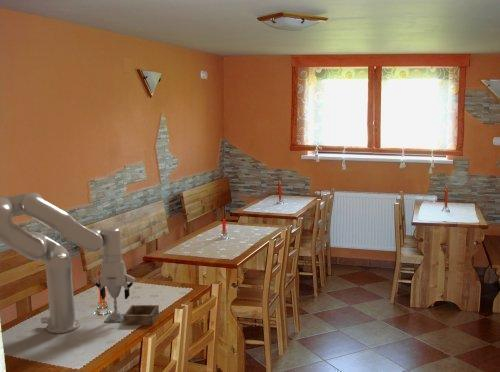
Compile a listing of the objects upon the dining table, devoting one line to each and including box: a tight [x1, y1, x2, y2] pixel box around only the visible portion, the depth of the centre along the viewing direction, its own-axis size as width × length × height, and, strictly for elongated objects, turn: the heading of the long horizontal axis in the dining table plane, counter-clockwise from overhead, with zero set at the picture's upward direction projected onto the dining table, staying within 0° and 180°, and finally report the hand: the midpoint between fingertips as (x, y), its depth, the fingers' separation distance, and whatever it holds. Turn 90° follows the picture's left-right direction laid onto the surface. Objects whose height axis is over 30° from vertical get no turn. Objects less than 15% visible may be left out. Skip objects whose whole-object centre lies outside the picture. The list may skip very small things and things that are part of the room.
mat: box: [103, 313, 125, 323], centre depth 235 cm, size 8×8×1 cm
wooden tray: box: [123, 304, 160, 326], centre depth 233 cm, size 12×12×4 cm
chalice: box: [106, 278, 123, 320], centre depth 233 cm, size 7×7×18 cm
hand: (115, 298), depth 233 cm, fingers open, 9 cm apart
